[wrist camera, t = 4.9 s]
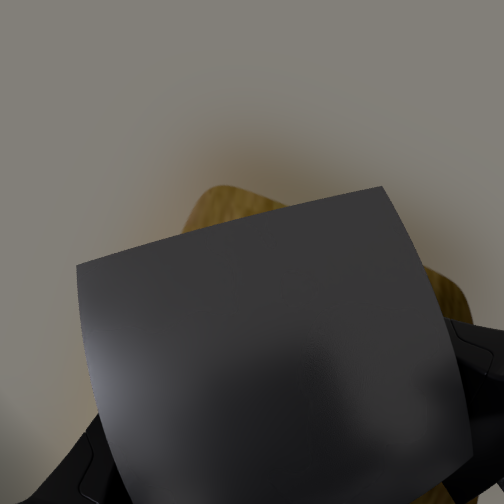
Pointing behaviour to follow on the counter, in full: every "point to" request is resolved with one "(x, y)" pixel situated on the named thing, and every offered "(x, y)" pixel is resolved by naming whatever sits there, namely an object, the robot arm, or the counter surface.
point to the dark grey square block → (276, 361)
